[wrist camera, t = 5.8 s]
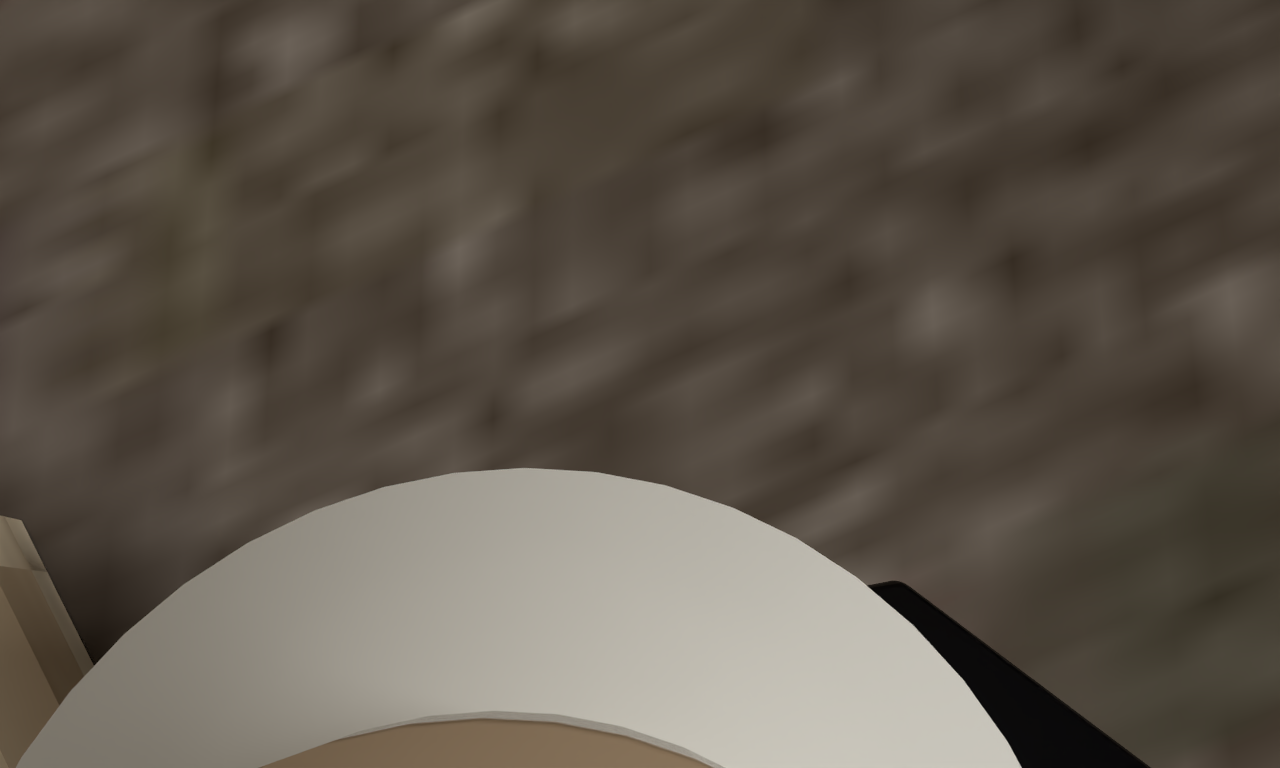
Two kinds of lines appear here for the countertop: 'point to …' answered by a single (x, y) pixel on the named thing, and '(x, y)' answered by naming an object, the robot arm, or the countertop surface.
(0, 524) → the tray
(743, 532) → the bottle
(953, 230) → the countertop surface
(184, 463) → the countertop surface
